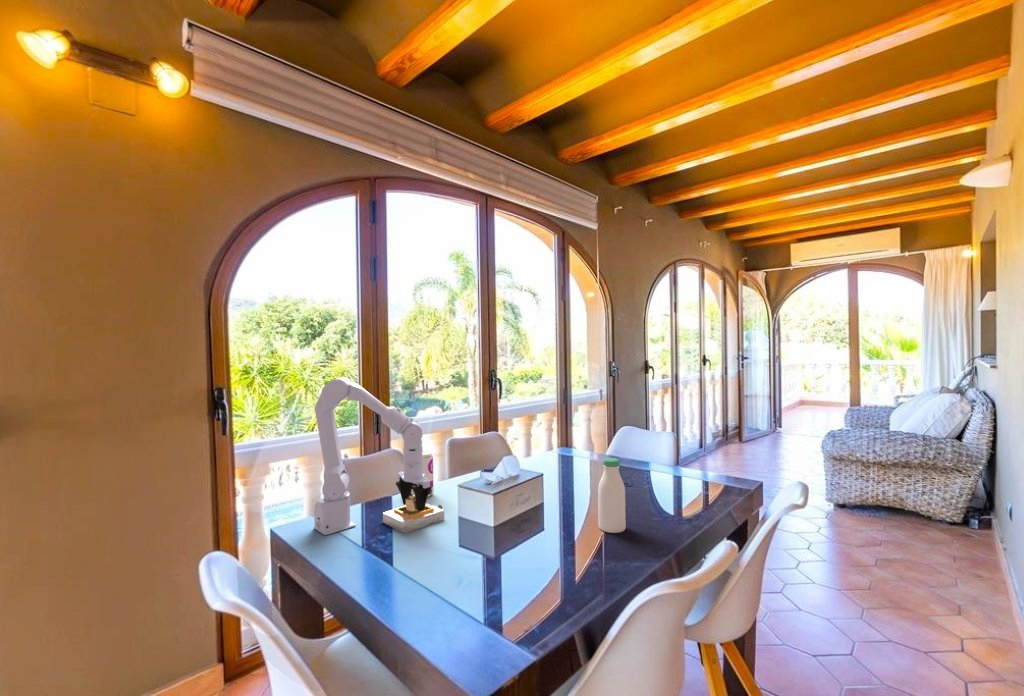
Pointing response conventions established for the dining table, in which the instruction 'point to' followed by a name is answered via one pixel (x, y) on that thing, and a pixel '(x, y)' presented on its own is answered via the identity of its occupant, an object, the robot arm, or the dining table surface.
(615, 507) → the milk bottle
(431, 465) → the supplement can
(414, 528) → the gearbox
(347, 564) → the dining table surface
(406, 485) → the robot arm
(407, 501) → the spout can
